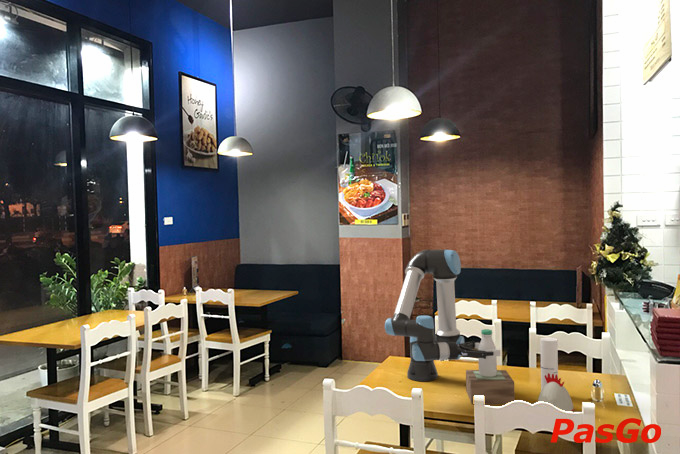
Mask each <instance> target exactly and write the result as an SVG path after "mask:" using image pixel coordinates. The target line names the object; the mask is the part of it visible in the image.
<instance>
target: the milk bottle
mask: <svg viewBox="0 0 680 454" xmlns="http://www.w3.org/2000/svg"><path fill="white" fill-rule="evenodd" d="M480 333H481V340H480V342H479V343H480V344H479V349H477V350H482V351H485V350H497V348H496V345H495V343H494V340H493V337H492V336H493V331H492V329H487V328H486V329H481V332H480ZM477 359H478V360H477V361H478V370H479V375H481V376H483V377H494V376H496V375H497V370H498V368H497V366H498V365H497V364H498V363H497V356H492V357H486V359H484V358H477Z"/></svg>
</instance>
